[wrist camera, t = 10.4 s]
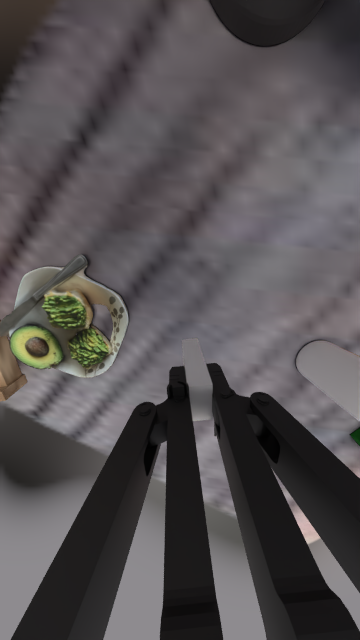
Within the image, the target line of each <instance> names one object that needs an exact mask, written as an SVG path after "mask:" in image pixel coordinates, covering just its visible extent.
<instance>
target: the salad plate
mask: <svg viewBox="0 0 360 640" xmlns="http://www.w3.org/2000/svg"><path fill="white" fill-rule="evenodd" d="M87 265H88V261H87V259H86V258H85V257H84V256H83V255H78V256H76V257H75V258H73V259H72V260H71V261H70V262H69V263H68V264H67V265H66V266H65V267H53V266H51V267H50V266H48V267H43V268H38V269H36V270H33V271H31V272H29V273H27V274H26V275H25V276H24V277H23V278H22V281H21V283H20V286H19V289H18V293H17V298H16V302H15V308H14V311H13V312H12V313H11V314H10V315H8V316H6V317H5V318H4V319H3V320H2V321H1V322H0V336H1V337H2V336H8V337H9V338H10V340H9V346H10V349H11V352H12V354H13V355H14V356H15V357H16V358H17V359H18V360H20V361H21V362H22V363H24V364H26V365H28V366H30V367H33V368H37V369H46V368H49V369H50V368H51V367H52V368H55V369H58V370H61V371H63V372H66V373H69V374H72V375H75V376H78V377H83V378H91V377H95V376H98V375H100V374H102V373H104V372H106V371H107V370H108V369H109V368H110V367H111V366H112V364H113V363H114V361H115V359H116V357H117V355H118V351H119V349H120V346H121V344H122V341H123V339H124V336H125V333H126V330H127V326H128V323H129V317H128V310H127V308H126V306H125V304H124V302H123V300H122V298H121V296H120V295H118V294H117V293H116V292H114V291H112V290H111V289H109V288H107V287H105V286H104V285H102V284H100V283H97V282H95V281H93V280H91V279H90V278H88V277H87V276H86V275H85V274H84V270H85V268H86V267H87ZM92 304H101V305H105V306H107V308H108V310H109V311H110V314H111V317H112V320H113V332H112V336H111V339H110V341H108V339H107V338H106V337H105V336H104V335H103V333H102V332H101V331H99V330H98V329H97V328H96V327H95V326H94V325H93V323H92V318H93V313H92V312H93V309H92ZM76 333H77V335H76Z"/></svg>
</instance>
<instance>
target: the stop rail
mask: <svg viewBox="0 0 360 640" xmlns="http://www.w3.org/2000/svg"><path fill="white" fill-rule="evenodd" d="M0 322H1V320H0ZM26 383H27V380H26V377H25V375H22V373H21V371H20V368H19V366H18V363H17V361H16V358H15V356H14V355H13V354H12V352H11V349H10V346H9V341H8V338H7V336H2V337H1V336H0V401H6V400H7V399H8V398H9V397H10V396H12V395H13V394H14V393H15V392H16V391H18V390H19V389H20V388H21V387H22V386H23V385H25V384H26Z"/></svg>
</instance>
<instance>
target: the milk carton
mask: <svg viewBox="0 0 360 640" xmlns="http://www.w3.org/2000/svg"><path fill="white" fill-rule="evenodd" d="M350 435H351V436H352V438H353V439H354V440H355V441H356V442H357V443H358V445H359V446H360V428H359V429H357V430H356V431H355V432H353V433H352V434H350Z"/></svg>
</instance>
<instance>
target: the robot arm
mask: <svg viewBox="0 0 360 640" xmlns="http://www.w3.org/2000/svg"><path fill="white" fill-rule="evenodd" d="M324 2H325V0H211V3H212V5H213V7H214V9H215V11H216V12H217V14H218V16H219V17H220V19H221V20H222V21H223V23H224V24H225V25H226V26H227V27H228V28H229V30H231V31H232V32H233V33H234V34H235V35H236V36H238V37H239V38H241V39H242V40H244V41H246V42H249V43H252V44H255V45H262V46H268V45H275V44H279V43H282V42H284V41H287V40H289V39H291V38H292V37H294V36H295V35H297V34H298V33H299V32H300V31H302V30H303V29H304V28H305V27H306V26H307V25H308V24H309V23H310V22H311V20H312V19H313V18H314V17H315V15H316V14H317V13H318V11H319V10H320V8H321V7H322V5H323V3H324ZM182 350H183V365H184V366H180V367H172V368H171V370H170V372H169V384H168V386H167V394H168V398H167V400H166V401H164V402H163V403H161V404H159V405H156V406H155V405H154V404H153V403H151V402H144V403H141V404H139V405H138V406H137V407H136V408H135V409H134V411H133V413H132V414H131V416H130V418H129V420H128V422H127V424H126V426H125V427H124V429H123V431H122V433H121V435H120V437H119V439H118V441H117V442H116V444H115V446H114V448H113V450H112V452H111V454H110V455H109V457H108V459H107V461H106V463H105V465H104V467H103V468H102V470H101V472H100V474H99V476H98V478H97V480H96V482H95V483H94V485H93V487H92V489H91V491H90V493H89V495H88V497H87V498H86V500H85V502H84V504H83V506H82V508H81V510H80V511H79V513H78V515H77V517H76V519H75V521H74V523H73V525H72V526H71V528H70V530H69V532H68V534H67V536H66V538H65V539H64V541H63V543H62V545H61V547H60V549H59V551H58V552H57V554H56V556H55V558H54V560H53V562H52V564H51V565H50V567H49V569H48V571H47V573H46V575H45V577H44V578H43V581H42V582H41V584H40V586H39V588H38V590H37V592H36V593H35V595H34V597H33V599H32V601H31V603H30V605H29V607H28V608H27V610H26V612H25V614H24V616H23V618H22V620H21V622H20V623H19V625H18V627H17V629H16V631H15V633H14V635H13V636H12V638H11V640H103V638H104V635H105V631H106V628H107V625H108V621H109V617H110V615H111V611H112V608H113V604H114V601H115V597H116V594H117V591H118V588H119V584H120V581H121V577H122V574H123V570H124V567H125V563H126V560H127V556H128V554H129V550H130V547H131V544H132V540H133V537H134V533H135V530H136V527H137V523H138V520H139V516H140V513H141V510H142V506H143V503H144V500H145V496H146V493H147V489H148V486H149V483H150V479H151V476H152V473H153V469H154V466H155V462H156V459H157V456H158V452H159V449H160V446H161V443H163V442H165V441H167V465H166V509H165V553H164V555H165V556H164V595H163V609H162V616H161V628H160V640H223V635H222V628H221V622H220V615H219V610H218V604H217V599H216V593H215V586H214V578H213V570H212V564H211V556H210V548H209V540H208V533H207V525H206V518H205V511H204V502H203V495H202V487H201V480H200V472H199V465H198V457H197V450H196V442H195V434H194V427H193V421H200V420H211V419H213V417H214V436H216V435H217V439H218V443H219V447H220V451H221V455H222V459H223V463H224V467H225V471H226V475H227V479H228V483H229V487H230V491H231V495H232V499H233V503H234V507H235V511H236V515H237V519H238V523H239V527H240V530H241V535H242V539H243V543H244V546H245V550H246V555H247V559H248V563H249V566H250V570H251V575H252V578H253V582H254V586H255V590H256V594H257V598H258V603H259V606H260V610H261V614H262V618H263V623H264V627H265V632H266V638H267V640H360V631H359V629H358V628H357V626H356V624H355V622H354V620H353V618H352V617H351V615H350V613H349V611H348V610H347V608H346V607H345V605H344V604H343V602H342V601H341V599H340V598H339V597H338V596H337V595H336V594H335V593H334V592H333V591H332V590H331V589H330V588H329V587H328V585H327V584H326V582H325V580H324V578H323V576H322V575H321V572H320V570H319V568H318V566H317V564H316V562H315V560H314V558H313V556H312V554H311V551H310V549H309V547H308V545H307V543H306V541H305V539H304V536H303V534H302V532H301V530H300V528H299V526H298V524H297V522H296V519H295V517H294V515H293V513H292V511H291V509H290V507H289V505H288V503H287V500H286V498H285V496H284V494H283V492H282V490H281V488H280V486H279V484H278V481H277V479H276V477H275V475H274V473H273V471H274V472H275V473H276V475H277V476H278V478H279V479H280V480H281V482H282V483H283V485H284V486H285V488H286V489H287V490H288V492H289V493H290V495H291V496H292V498H293V499H294V500H295V502H296V503H297V505H298V506H299V507H300V509H301V510H302V512H303V513H304V515H305V516H306V517H307V519H308V520H309V522H310V523H311V524H312V526H313V527H314V529H315V530H316V532H317V533H318V534H319V536H320V537H321V539H322V540H323V542H324V543H325V544H326V546H327V547H328V549H329V550H330V551H331V553H332V554H333V556H334V557H335V559H336V560H337V561H338V563H339V564H340V566H341V567H342V568H343V570H344V571H345V573H346V574H347V576H348V577H349V578H350V580H351V581H352V583H353V584H354V586H355V587H356V588H357V590H358V591H359V593H360V478H359V477H357V476H356V475H355V474H354V473H353V472H352V471H351V470H350V469H349V468H348V467H347V466H346V465H345V464H343V463H342V462H341V461H340V460H339V459H338V458H337V457H336V456H335V455H334V454H333V453H332V452H331V451H329V450H328V449H327V448H326V447H325V446H324V445H323V444H322V443H321V442H320V441H319V440H318V439H317V438H315V437H314V436H313V435H312V434H311V433H310V432H309V431H308V430H307V429H306V428H305V427H304V426H303V425H302V424H300V423H299V422H298V421H297V420H296V419H295V418H294V417H293V416H292V415H291V414H290V413H289V412H288V411H286V410H285V409H284V408H283V407H282V406H281V405H280V404H279V403H278V402H277V401H276V400H275V399H274V398H272V397H271V396H270V395H268V394H266V393H263V392H255V393H253V394H252V395H251V397H250V398H249V397H243V396H239V395H237V394H236V393H235V392H234V390H232V389H231V388H230V387H229V385H228V382H227V380H226V378H225V376H224V373H223V372H222V369H221V367H220V366H219V365H218V364H217V363H211V364H206V363H205V360H204V357H203V353H202V350H201V347H200V344H199V341H198V338H192V339H182ZM270 466H271V467H270ZM271 468H272V469H273V471H272V469H271Z"/></svg>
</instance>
